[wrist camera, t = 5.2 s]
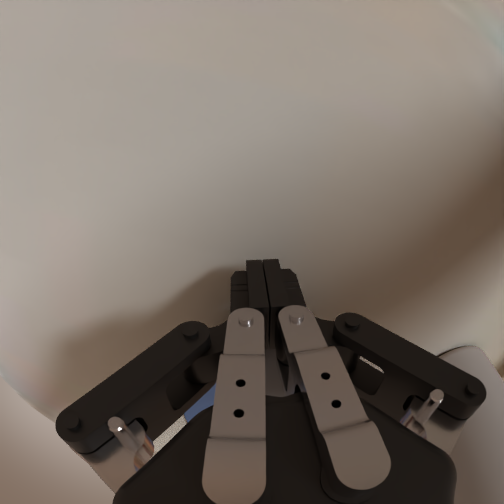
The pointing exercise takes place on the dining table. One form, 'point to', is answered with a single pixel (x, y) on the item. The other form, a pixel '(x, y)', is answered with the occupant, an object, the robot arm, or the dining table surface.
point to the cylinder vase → (480, 434)
